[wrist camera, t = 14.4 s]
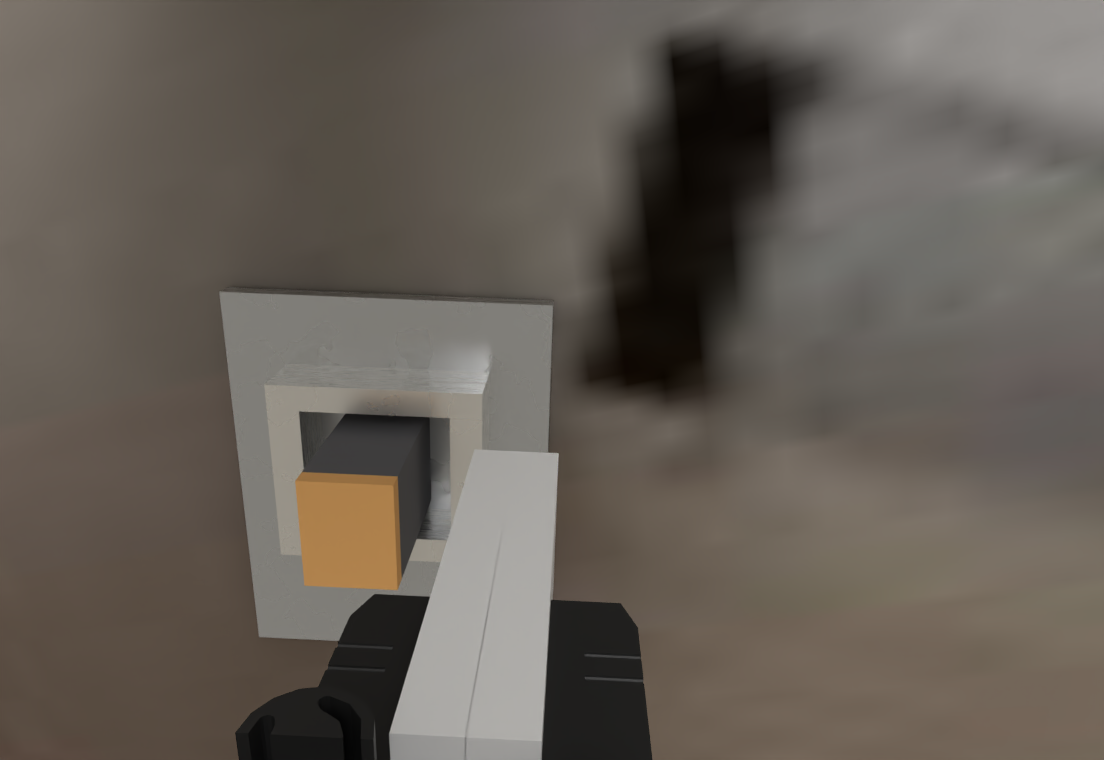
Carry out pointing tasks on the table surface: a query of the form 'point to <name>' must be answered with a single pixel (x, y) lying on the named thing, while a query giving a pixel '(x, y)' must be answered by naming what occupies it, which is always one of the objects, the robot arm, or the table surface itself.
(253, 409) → the socket plate
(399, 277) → the table surface
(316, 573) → the plug
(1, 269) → the table surface
